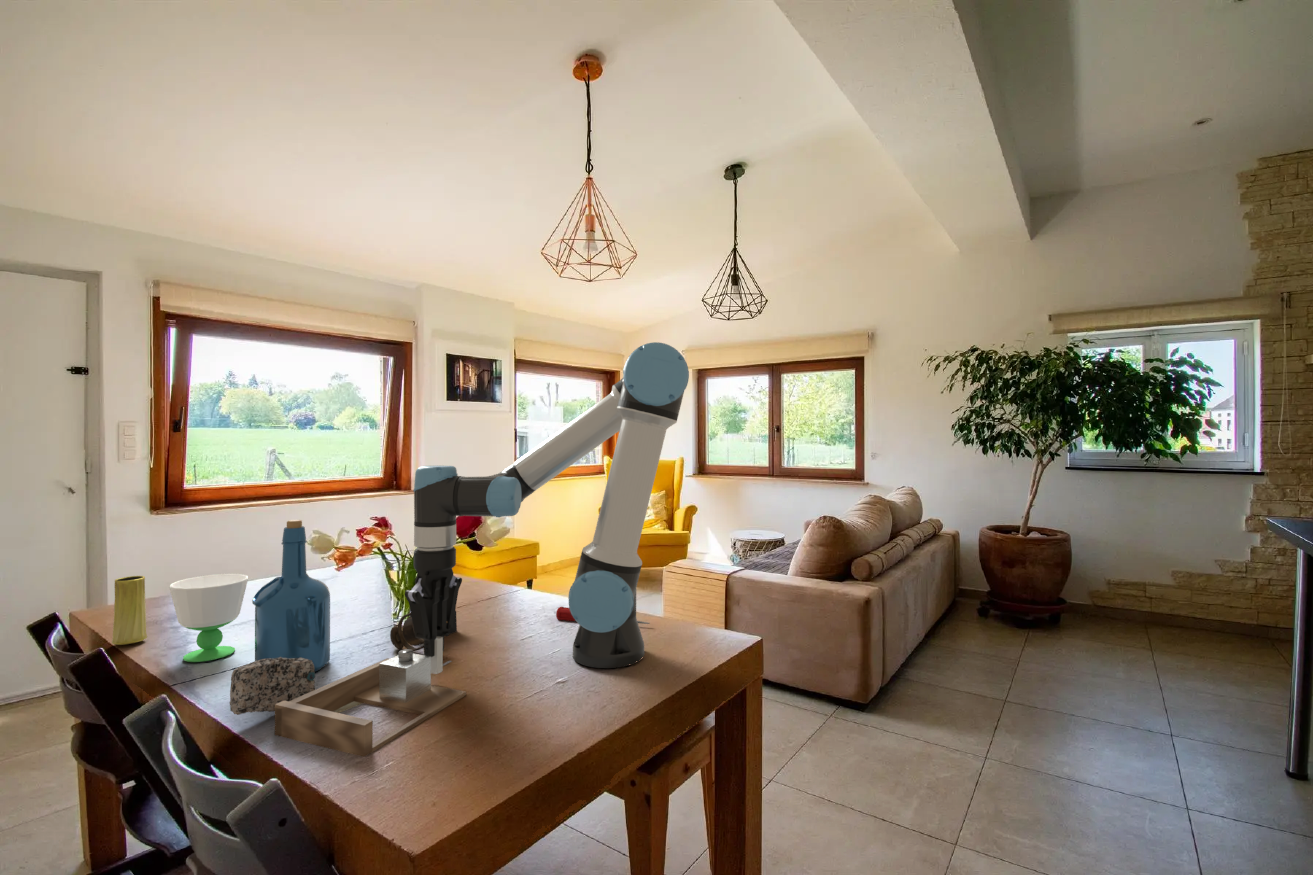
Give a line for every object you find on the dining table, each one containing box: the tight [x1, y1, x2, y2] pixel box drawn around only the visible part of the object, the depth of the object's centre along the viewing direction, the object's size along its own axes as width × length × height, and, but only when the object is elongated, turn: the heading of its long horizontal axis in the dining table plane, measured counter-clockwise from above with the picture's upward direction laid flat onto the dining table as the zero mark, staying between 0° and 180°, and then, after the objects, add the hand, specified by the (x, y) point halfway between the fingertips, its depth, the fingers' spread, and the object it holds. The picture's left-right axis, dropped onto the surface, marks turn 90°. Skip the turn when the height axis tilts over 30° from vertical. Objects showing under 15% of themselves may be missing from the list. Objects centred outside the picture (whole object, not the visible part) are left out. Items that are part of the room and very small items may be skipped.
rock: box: [229, 657, 316, 716], centre depth 100 cm, size 13×9×4 cm
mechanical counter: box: [389, 612, 424, 652], centre depth 128 cm, size 7×13×10 cm, turn 78°
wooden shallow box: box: [274, 657, 467, 758], centre depth 100 cm, size 18×22×5 cm
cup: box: [168, 573, 249, 663], centre depth 128 cm, size 14×14×16 cm
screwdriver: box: [555, 606, 651, 625], centre depth 149 cm, size 4×25×4 cm, turn 71°
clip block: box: [379, 648, 432, 703], centre depth 106 cm, size 6×6×8 cm
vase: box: [111, 575, 148, 646], centre depth 136 cm, size 6×6×14 cm
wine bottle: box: [251, 519, 331, 672], centre depth 120 cm, size 14×13×30 cm
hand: (434, 671), depth 113 cm, fingers closed
